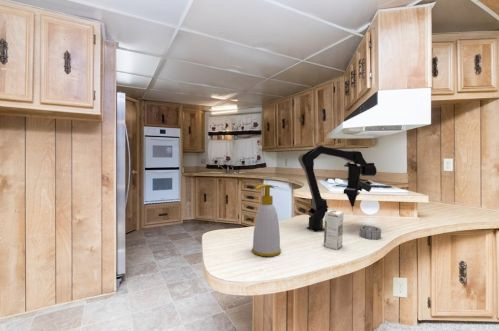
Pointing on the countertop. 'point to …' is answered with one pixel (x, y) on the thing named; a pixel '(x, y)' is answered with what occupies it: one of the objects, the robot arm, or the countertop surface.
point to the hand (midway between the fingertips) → (352, 206)
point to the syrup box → (333, 229)
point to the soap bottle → (266, 226)
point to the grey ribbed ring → (370, 233)
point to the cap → (370, 228)
